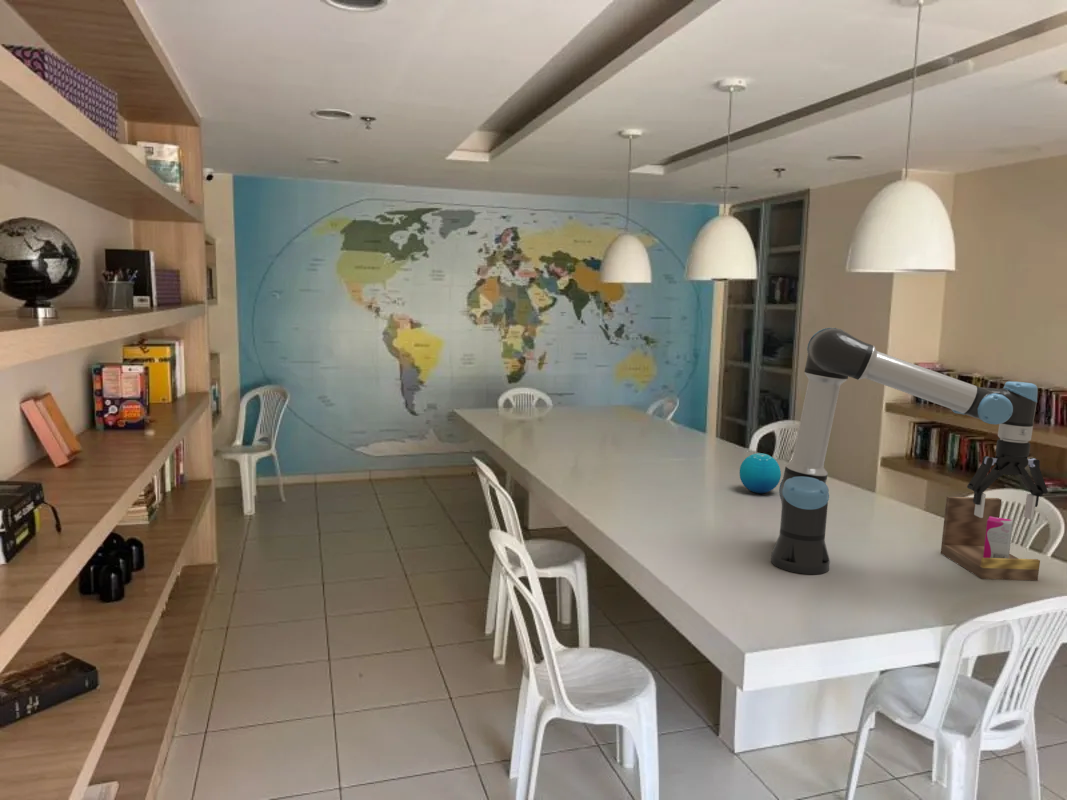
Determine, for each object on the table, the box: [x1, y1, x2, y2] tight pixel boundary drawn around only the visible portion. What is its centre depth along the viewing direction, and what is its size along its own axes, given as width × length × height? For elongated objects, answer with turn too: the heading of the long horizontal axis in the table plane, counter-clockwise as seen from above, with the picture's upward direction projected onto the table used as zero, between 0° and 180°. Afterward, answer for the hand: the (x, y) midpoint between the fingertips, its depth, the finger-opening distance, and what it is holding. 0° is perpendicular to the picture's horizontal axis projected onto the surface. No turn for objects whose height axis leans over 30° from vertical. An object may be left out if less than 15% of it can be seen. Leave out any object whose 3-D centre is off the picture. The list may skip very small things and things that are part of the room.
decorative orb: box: [739, 452, 782, 494], centre depth 279 cm, size 15×15×15 cm
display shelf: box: [940, 496, 1041, 581], centre depth 206 cm, size 15×20×17 cm
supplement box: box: [983, 516, 1014, 558], centre depth 203 cm, size 6×6×12 cm
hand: (1003, 517), depth 200 cm, fingers open, 13 cm apart
